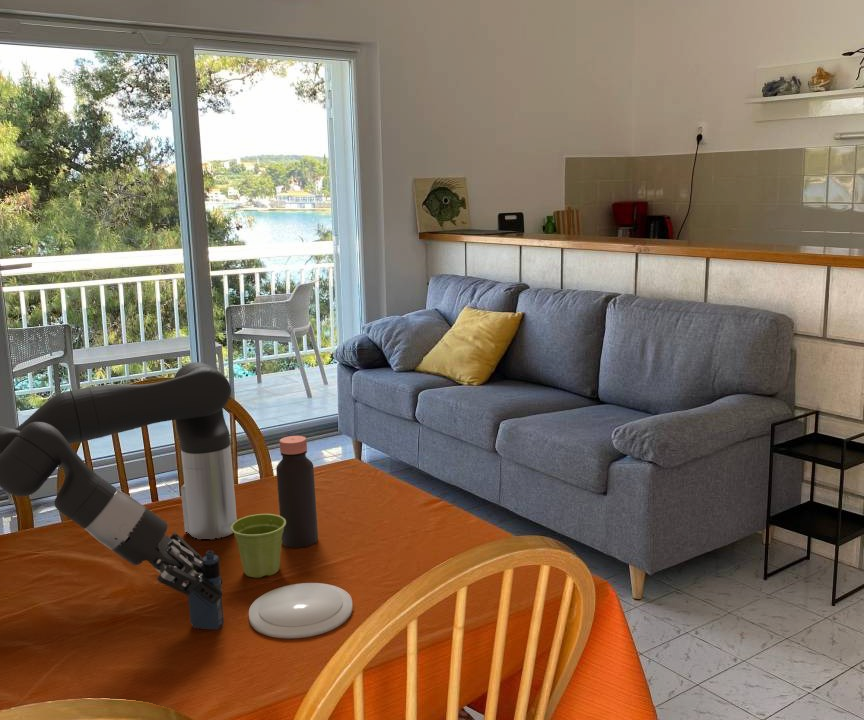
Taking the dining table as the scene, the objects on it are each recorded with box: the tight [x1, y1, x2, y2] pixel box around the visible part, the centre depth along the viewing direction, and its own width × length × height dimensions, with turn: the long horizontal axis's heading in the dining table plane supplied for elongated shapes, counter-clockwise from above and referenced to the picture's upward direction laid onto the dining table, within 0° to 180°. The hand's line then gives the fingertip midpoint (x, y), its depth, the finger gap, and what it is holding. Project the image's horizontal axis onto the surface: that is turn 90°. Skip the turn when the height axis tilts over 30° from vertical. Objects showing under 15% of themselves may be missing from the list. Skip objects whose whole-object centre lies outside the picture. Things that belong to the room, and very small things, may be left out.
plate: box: [248, 582, 353, 639], centre depth 134 cm, size 16×16×1 cm
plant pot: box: [231, 513, 286, 579], centre depth 148 cm, size 9×9×9 cm
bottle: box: [275, 435, 319, 549], centre depth 159 cm, size 7×7×20 cm
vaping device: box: [187, 550, 225, 630], centre depth 130 cm, size 3×5×12 cm, turn 78°
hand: (218, 592), depth 130 cm, fingers closed on vaping device, 3 cm apart
